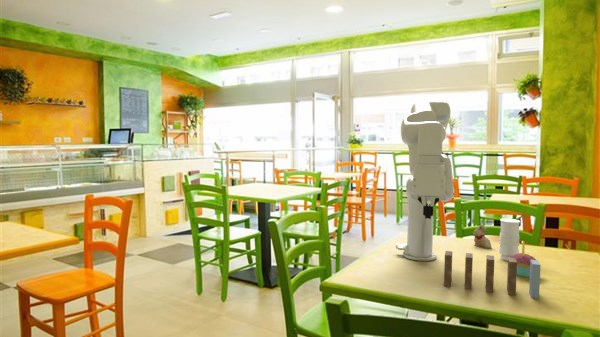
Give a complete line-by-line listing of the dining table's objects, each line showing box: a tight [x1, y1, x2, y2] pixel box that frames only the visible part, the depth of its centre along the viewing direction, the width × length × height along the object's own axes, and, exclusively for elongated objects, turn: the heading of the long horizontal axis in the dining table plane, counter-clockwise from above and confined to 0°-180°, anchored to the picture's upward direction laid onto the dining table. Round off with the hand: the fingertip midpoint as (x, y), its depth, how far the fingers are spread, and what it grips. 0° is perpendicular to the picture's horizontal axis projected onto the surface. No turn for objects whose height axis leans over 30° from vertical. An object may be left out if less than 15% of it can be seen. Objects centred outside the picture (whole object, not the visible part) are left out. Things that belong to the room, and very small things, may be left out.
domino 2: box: [464, 252, 474, 291], centre depth 128 cm, size 2×5×10 cm, turn 157°
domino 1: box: [443, 250, 453, 288], centre depth 130 cm, size 2×5×10 cm, turn 157°
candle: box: [498, 218, 521, 262], centre depth 158 cm, size 7×7×15 cm
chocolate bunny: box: [472, 223, 492, 250], centre depth 176 cm, size 6×8×10 cm
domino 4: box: [506, 257, 518, 297], centre depth 123 cm, size 2×5×10 cm, turn 157°
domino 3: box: [485, 254, 495, 294], centre depth 125 cm, size 2×5×10 cm, turn 157°
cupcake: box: [511, 240, 537, 278], centre depth 139 cm, size 9×8×12 cm
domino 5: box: [528, 259, 541, 300], centre depth 121 cm, size 2×5×10 cm, turn 156°
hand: (428, 217), depth 131 cm, fingers closed
